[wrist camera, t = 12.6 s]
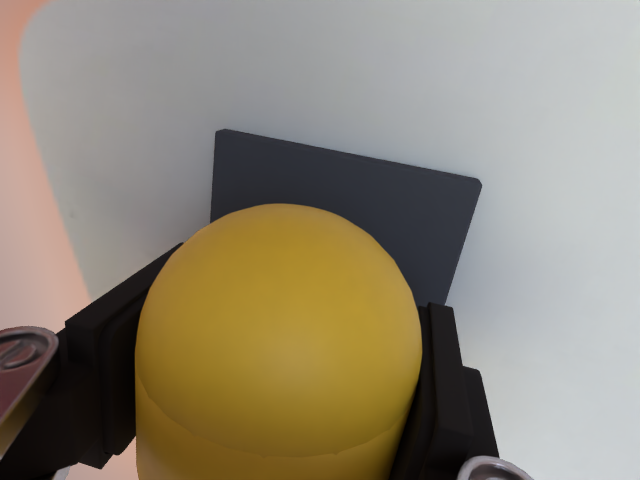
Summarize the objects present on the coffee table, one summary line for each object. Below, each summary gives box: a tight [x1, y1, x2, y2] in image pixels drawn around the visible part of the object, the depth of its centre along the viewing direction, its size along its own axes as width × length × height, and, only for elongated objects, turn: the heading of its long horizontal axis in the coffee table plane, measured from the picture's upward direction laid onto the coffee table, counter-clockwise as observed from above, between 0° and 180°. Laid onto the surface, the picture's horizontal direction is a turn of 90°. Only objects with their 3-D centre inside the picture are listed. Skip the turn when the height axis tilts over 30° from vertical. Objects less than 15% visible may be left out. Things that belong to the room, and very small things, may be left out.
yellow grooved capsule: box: [135, 204, 422, 480], centre depth 8 cm, size 8×5×5 cm
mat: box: [210, 129, 482, 309], centre depth 12 cm, size 8×7×1 cm
